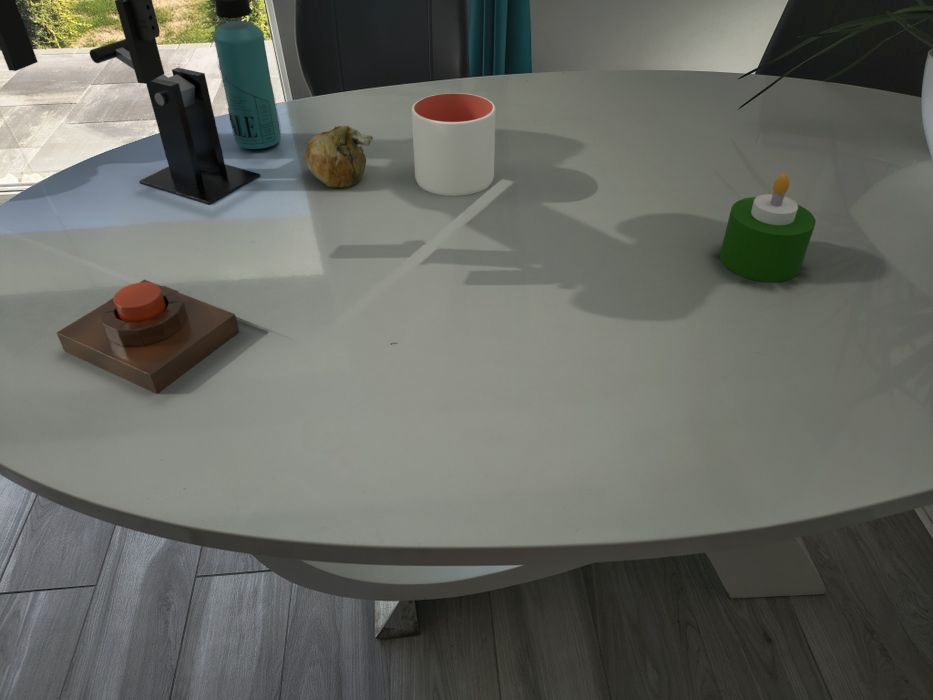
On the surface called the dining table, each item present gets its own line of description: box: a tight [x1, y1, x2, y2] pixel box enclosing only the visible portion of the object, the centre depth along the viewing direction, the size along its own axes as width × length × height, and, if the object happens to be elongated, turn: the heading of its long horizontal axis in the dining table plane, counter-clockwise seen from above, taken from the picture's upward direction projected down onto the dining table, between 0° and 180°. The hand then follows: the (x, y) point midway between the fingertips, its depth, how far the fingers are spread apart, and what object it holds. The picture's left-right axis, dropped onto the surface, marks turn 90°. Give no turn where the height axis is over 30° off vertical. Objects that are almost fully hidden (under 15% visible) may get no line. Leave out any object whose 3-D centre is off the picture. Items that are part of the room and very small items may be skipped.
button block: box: [56, 279, 240, 395], centre depth 67 cm, size 12×10×4 cm
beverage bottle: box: [212, 0, 283, 150], centre depth 96 cm, size 6×7×20 cm
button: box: [112, 281, 166, 322], centre depth 65 cm, size 4×4×2 cm
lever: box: [89, 38, 195, 107], centre depth 87 cm, size 12×6×2 cm, turn 61°
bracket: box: [138, 67, 262, 206], centre depth 89 cm, size 12×9×14 cm
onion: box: [304, 125, 374, 189], centre depth 91 cm, size 8×8×8 cm
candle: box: [719, 173, 816, 283], centre depth 76 cm, size 8×8×10 cm
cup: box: [411, 92, 496, 197], centre depth 90 cm, size 10×10×10 cm
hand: (86, 72), depth 65 cm, fingers open, 13 cm apart
